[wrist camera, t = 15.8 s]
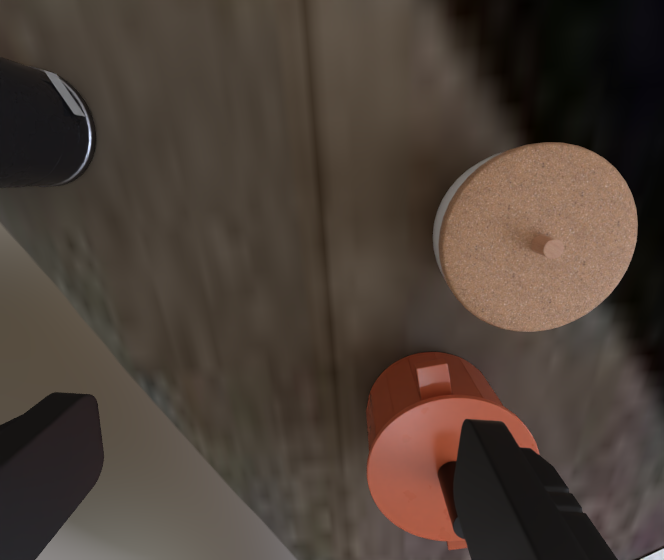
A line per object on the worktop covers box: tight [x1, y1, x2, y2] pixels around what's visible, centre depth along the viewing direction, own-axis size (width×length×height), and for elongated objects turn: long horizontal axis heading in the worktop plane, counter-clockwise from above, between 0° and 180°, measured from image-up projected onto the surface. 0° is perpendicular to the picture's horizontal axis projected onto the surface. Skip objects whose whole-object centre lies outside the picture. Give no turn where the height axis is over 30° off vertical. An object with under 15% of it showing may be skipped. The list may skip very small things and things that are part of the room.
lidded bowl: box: [433, 142, 638, 332], centre depth 30 cm, size 13×13×11 cm
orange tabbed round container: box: [366, 352, 504, 550], centre depth 36 cm, size 12×18×8 cm
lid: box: [367, 395, 539, 541], centre depth 30 cm, size 13×13×6 cm
